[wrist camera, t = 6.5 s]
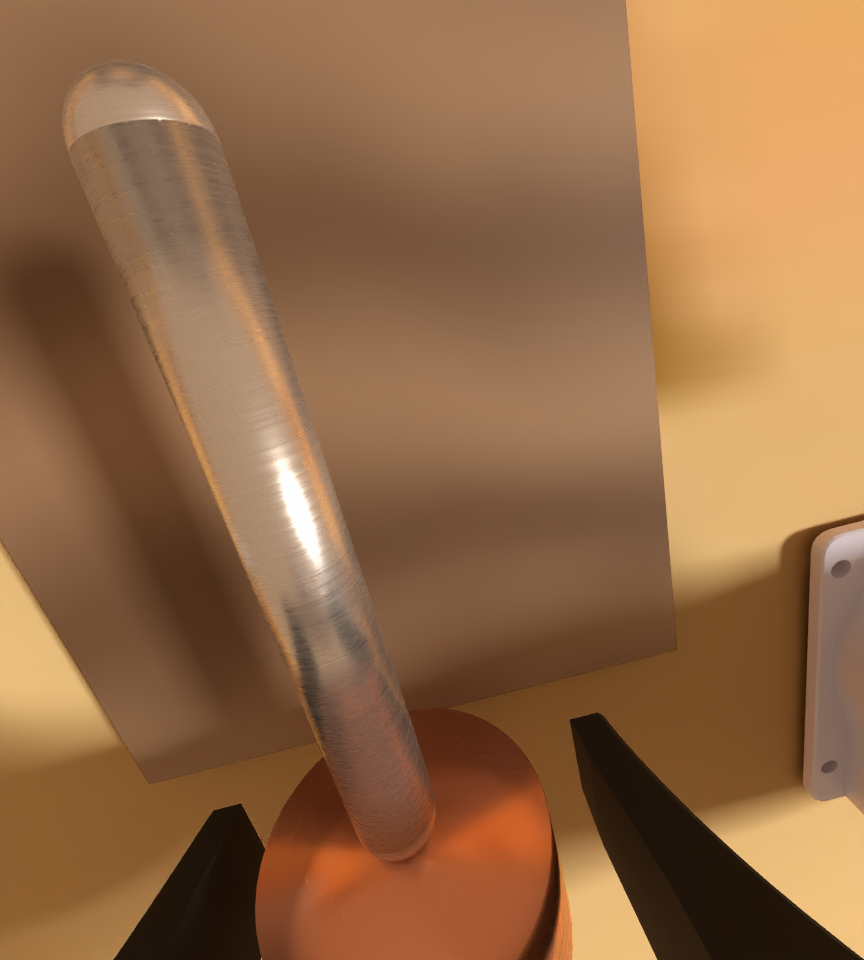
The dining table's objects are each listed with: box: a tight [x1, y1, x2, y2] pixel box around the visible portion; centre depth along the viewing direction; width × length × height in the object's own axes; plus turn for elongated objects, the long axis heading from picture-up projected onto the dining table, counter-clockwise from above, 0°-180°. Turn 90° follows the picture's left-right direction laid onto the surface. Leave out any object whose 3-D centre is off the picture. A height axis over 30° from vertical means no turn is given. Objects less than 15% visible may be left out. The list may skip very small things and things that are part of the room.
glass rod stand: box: [61, 60, 572, 960], centre depth 7 cm, size 13×5×5 cm, turn 14°
